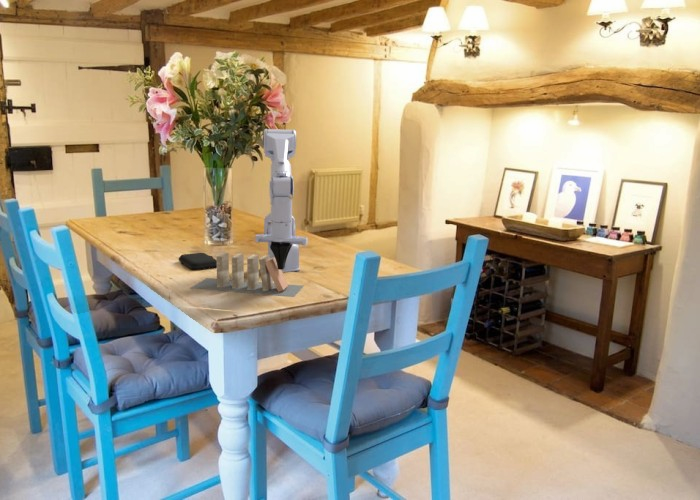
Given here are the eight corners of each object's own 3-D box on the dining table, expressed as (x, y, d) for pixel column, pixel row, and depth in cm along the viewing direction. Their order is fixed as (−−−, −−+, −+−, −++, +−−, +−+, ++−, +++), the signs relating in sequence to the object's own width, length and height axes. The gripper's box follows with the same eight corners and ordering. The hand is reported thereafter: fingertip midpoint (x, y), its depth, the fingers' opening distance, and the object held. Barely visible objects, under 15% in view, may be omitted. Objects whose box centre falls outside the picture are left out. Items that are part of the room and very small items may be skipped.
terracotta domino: (278, 292, 162) (264, 262, 161) (283, 287, 167) (270, 258, 166) (283, 290, 162) (269, 260, 160) (288, 285, 166) (275, 256, 165)
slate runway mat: (190, 289, 163) (190, 288, 163) (206, 278, 174) (206, 277, 174) (293, 297, 158) (294, 296, 158) (304, 286, 169) (304, 285, 169)
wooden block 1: (247, 289, 163) (247, 258, 161) (253, 284, 168) (253, 254, 166) (252, 290, 163) (252, 258, 161) (258, 285, 168) (258, 254, 166)
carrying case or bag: (224, 269, 186) (208, 259, 198) (224, 259, 186) (207, 250, 198) (192, 273, 181) (177, 262, 192) (192, 263, 180) (176, 253, 192)
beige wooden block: (217, 287, 165) (216, 256, 163) (223, 282, 170) (223, 252, 168) (222, 287, 165) (221, 256, 163) (229, 282, 169) (228, 252, 167)
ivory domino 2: (232, 288, 164) (231, 257, 162) (238, 283, 169) (238, 253, 167) (237, 288, 164) (237, 257, 162) (243, 283, 169) (243, 253, 167)
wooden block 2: (262, 290, 163) (258, 259, 161) (268, 285, 167) (264, 255, 166) (268, 290, 162) (264, 259, 161) (273, 285, 167) (269, 255, 165)
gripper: (251, 221, 157) (251, 270, 160) (303, 225, 155) (302, 274, 158) (259, 217, 164) (259, 264, 167) (309, 220, 162) (309, 267, 165)
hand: (281, 268), depth 163 cm, fingers closed
